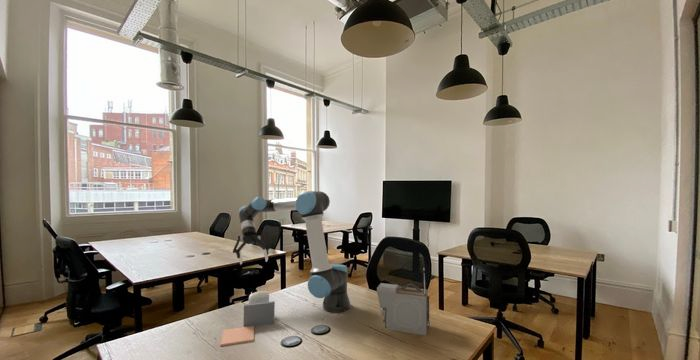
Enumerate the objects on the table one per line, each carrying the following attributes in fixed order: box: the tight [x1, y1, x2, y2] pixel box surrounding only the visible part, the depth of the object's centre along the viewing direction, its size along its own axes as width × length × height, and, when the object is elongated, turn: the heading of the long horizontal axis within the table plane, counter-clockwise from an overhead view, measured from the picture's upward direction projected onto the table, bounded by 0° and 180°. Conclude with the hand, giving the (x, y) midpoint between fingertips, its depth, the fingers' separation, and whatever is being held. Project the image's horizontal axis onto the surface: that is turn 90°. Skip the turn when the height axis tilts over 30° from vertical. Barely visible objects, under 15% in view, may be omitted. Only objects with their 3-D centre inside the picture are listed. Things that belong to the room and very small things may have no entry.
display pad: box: [219, 326, 255, 347], centre depth 126 cm, size 13×13×1 cm
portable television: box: [376, 267, 431, 336], centre depth 136 cm, size 12×24×30 cm, turn 70°
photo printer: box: [248, 290, 270, 304], centre depth 147 cm, size 10×4×12 cm, turn 123°
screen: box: [242, 300, 275, 327], centre depth 137 cm, size 14×2×10 cm, turn 108°
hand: (254, 261), depth 154 cm, fingers open, 13 cm apart
